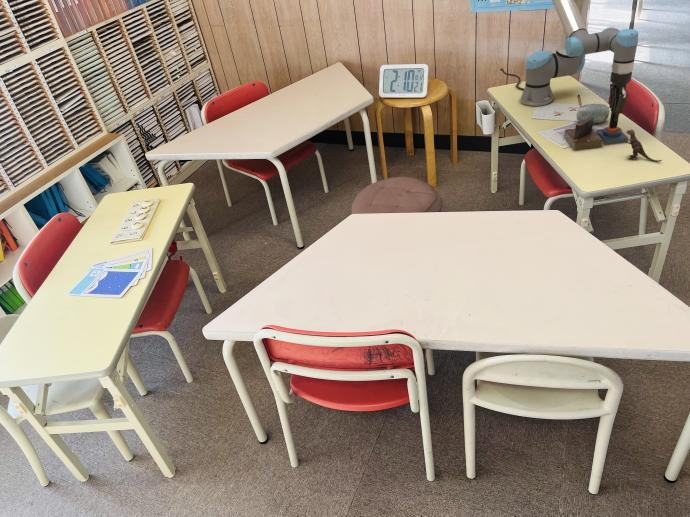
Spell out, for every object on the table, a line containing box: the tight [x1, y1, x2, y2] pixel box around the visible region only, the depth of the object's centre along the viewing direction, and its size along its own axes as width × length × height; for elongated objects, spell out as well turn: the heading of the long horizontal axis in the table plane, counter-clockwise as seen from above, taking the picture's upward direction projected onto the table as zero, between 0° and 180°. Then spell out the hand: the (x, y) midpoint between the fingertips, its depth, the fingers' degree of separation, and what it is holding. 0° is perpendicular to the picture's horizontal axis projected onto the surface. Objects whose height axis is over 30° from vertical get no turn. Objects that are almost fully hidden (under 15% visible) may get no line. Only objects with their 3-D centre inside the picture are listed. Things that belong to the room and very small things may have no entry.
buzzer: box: [595, 126, 629, 146], centre depth 227 cm, size 11×9×4 cm
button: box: [607, 126, 619, 132], centre depth 226 cm, size 4×4×2 cm
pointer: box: [574, 117, 594, 139], centre depth 225 cm, size 10×2×6 cm, turn 127°
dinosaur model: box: [626, 129, 663, 163], centre depth 207 cm, size 4×12×15 cm
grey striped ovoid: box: [575, 103, 610, 124], centre depth 240 cm, size 14×10×10 cm
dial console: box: [563, 127, 603, 152], centre depth 228 cm, size 14×14×4 cm
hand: (612, 126), depth 225 cm, fingers closed
